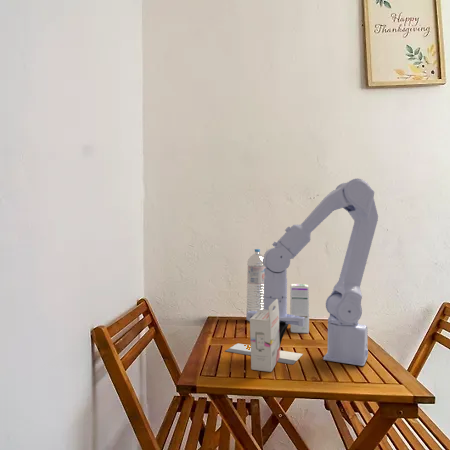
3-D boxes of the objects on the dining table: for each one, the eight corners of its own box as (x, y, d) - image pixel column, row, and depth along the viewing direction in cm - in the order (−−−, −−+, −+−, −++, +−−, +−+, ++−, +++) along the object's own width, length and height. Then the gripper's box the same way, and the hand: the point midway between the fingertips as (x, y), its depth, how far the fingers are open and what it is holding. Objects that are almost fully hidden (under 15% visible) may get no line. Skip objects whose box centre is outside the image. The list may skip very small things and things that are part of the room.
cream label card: (303, 354, 100) (303, 353, 100) (292, 364, 92) (292, 364, 92) (269, 349, 104) (269, 348, 104) (257, 358, 96) (257, 358, 96)
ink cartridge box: (260, 355, 96) (259, 296, 95) (280, 358, 95) (279, 297, 94) (249, 369, 88) (248, 305, 87) (271, 373, 87) (270, 307, 86)
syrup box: (309, 333, 122) (309, 286, 122) (289, 332, 122) (290, 285, 123) (308, 329, 127) (308, 284, 127) (289, 328, 128) (290, 283, 128)
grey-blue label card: (264, 347, 105) (264, 347, 105) (253, 356, 98) (253, 355, 98) (237, 343, 109) (237, 343, 109) (224, 351, 102) (224, 350, 102)
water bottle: (256, 317, 142) (257, 248, 143) (270, 321, 137) (271, 249, 138) (242, 320, 138) (243, 248, 139) (256, 324, 133) (257, 249, 133)
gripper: (308, 297, 98) (307, 352, 98) (254, 292, 104) (253, 343, 104) (300, 301, 92) (299, 360, 91) (243, 295, 98) (242, 350, 98)
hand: (274, 352), depth 97 cm, fingers closed
